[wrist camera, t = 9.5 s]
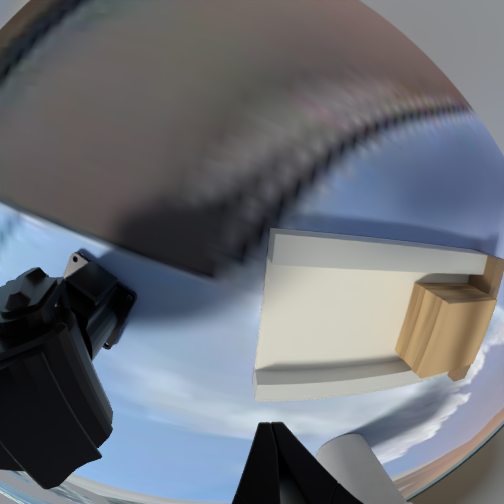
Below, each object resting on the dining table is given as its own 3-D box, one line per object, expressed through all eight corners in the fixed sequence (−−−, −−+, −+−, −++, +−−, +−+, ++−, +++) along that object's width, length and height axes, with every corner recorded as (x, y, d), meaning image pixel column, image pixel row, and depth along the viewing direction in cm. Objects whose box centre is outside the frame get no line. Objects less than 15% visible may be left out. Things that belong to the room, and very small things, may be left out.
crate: (393, 350, 23) (419, 379, 18) (414, 281, 21) (448, 303, 16) (446, 342, 24) (472, 364, 19) (466, 282, 22) (497, 299, 17)
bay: (252, 383, 23) (256, 414, 19) (269, 227, 20) (279, 238, 16) (446, 361, 25) (464, 378, 22) (481, 250, 22) (506, 260, 18)
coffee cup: (336, 421, 26) (381, 526, 11) (387, 428, 27) (434, 508, 13) (290, 464, 27) (313, 557, 13) (343, 467, 29) (373, 544, 14)
